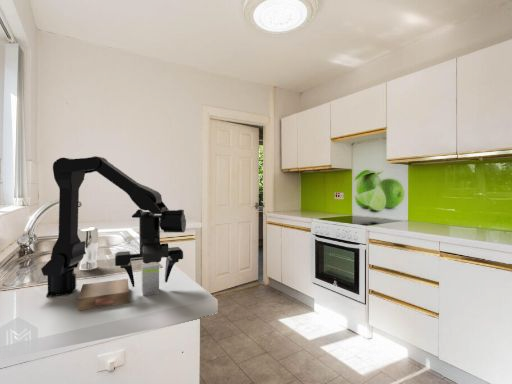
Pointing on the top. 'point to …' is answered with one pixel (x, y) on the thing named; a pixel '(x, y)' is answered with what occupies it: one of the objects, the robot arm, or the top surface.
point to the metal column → (150, 279)
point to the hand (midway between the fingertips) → (150, 284)
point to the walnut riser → (103, 294)
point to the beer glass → (89, 248)
